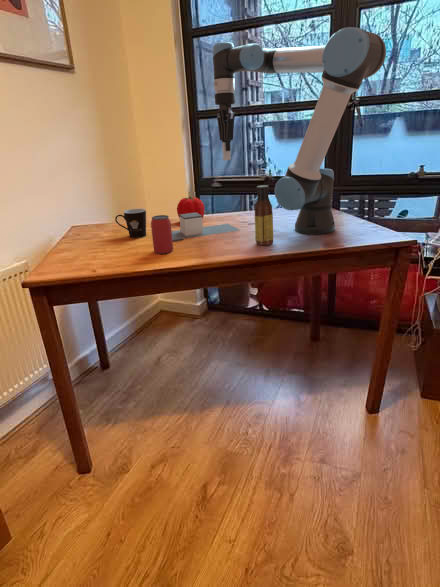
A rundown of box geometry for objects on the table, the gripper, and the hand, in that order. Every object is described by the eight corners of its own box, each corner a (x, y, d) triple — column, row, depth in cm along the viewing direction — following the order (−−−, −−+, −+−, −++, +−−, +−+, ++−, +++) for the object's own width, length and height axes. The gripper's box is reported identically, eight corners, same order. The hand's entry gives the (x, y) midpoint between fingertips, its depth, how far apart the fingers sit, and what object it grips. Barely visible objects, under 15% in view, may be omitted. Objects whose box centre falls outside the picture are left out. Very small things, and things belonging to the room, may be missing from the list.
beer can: (157, 255, 127) (153, 220, 122) (151, 250, 132) (147, 216, 127) (176, 252, 130) (173, 217, 125) (169, 247, 135) (166, 213, 130)
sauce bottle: (273, 241, 136) (274, 184, 129) (272, 246, 131) (273, 187, 123) (255, 241, 138) (255, 184, 130) (253, 246, 132) (253, 187, 124)
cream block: (184, 217, 143) (186, 236, 146) (202, 215, 146) (203, 233, 149) (179, 214, 149) (180, 232, 152) (196, 212, 152) (197, 229, 155)
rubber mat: (240, 231, 151) (240, 230, 151) (172, 241, 142) (172, 240, 142) (227, 225, 162) (227, 223, 162) (163, 233, 153) (163, 232, 153)
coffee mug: (153, 234, 154) (150, 209, 150) (140, 239, 147) (137, 213, 143) (129, 232, 158) (126, 207, 154) (116, 237, 151) (112, 212, 147)
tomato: (173, 226, 164) (171, 199, 160) (183, 219, 176) (181, 193, 172) (201, 226, 162) (199, 199, 157) (209, 219, 173) (207, 193, 169)
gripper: (209, 94, 145) (212, 159, 155) (222, 91, 134) (224, 161, 144) (227, 94, 148) (229, 158, 157) (241, 90, 137) (242, 160, 146)
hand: (227, 159), depth 150 cm, fingers closed
